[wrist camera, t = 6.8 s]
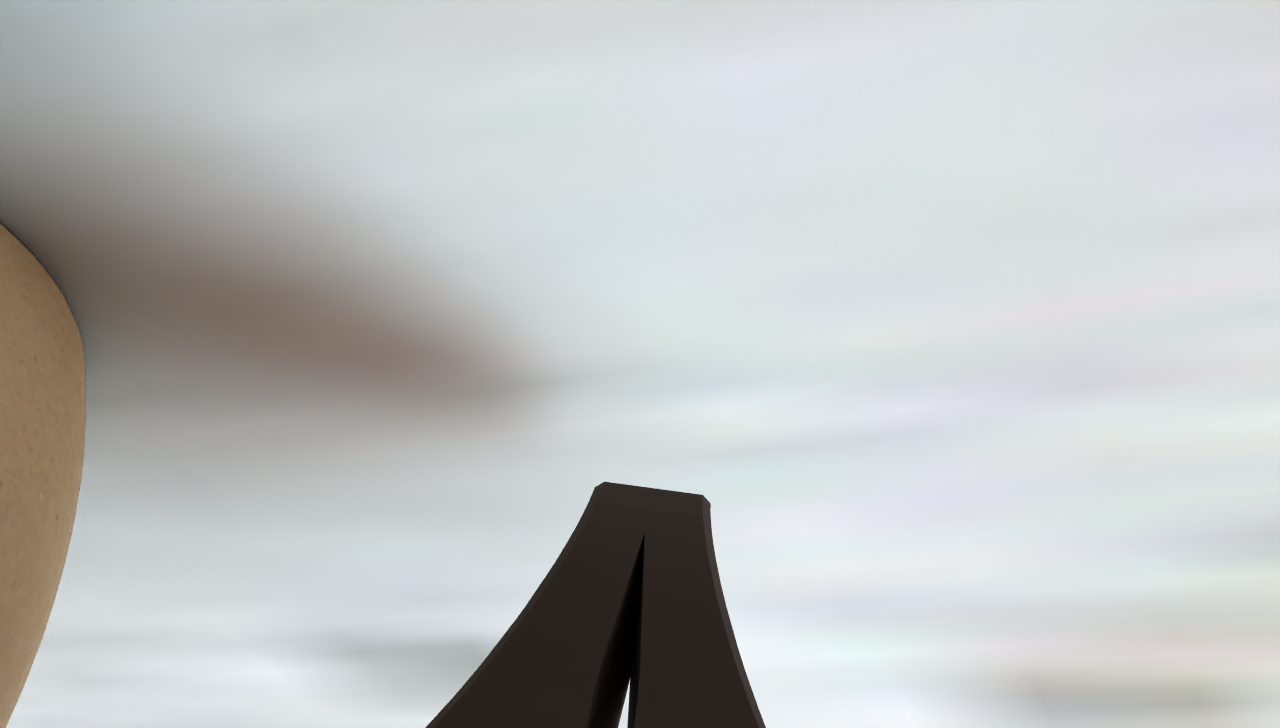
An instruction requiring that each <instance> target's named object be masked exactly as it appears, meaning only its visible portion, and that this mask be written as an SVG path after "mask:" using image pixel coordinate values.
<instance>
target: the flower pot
mask: <svg viewBox="0 0 1280 728" xmlns="http://www.w3.org/2000/svg"><path fill="white" fill-rule="evenodd" d="M85 421H86V385H85V359H84V350H83V344H82V339H81V335H80V332H79V329H78V326H77V324H76V322H75V320H74V317H73V315H72V313H71V311H70V308H69V306H68V304H67V302H66V300H65V298H64V296H63V294H62V293H61V291H60V290H59V288H58V287H57V285H56V284H55V283H54V281H53V280H52V278H51V277H50V275H49V274H48V273H47V272H46V270H45V269H44V268H43V267H42V265H41V264H40V263H39V262H38V261H37V259H36V258H35V257H34V256H33V255H32V254H31V252H30V251H29V250H28V249H27V248H26V247H25V246H24V245H23V244H22V243H21V242H20V241H19V240H18V239H17V238H16V237H14V236H13V235H12V234H11V233H10V232H9V231H8V230H7V229H6V228H5V227H3V226H2V225H1V224H0V728H6V726H7V723H8V721H9V719H10V717H11V714H12V712H13V710H14V708H15V705H16V703H17V701H18V699H19V696H20V694H21V692H22V690H23V687H24V685H25V682H26V679H27V677H28V674H29V672H30V669H31V666H32V664H33V661H34V658H35V656H36V653H37V651H38V648H39V645H40V643H41V640H42V638H43V634H44V631H45V628H46V625H47V622H48V619H49V616H50V613H51V610H52V607H53V603H54V600H55V597H56V593H57V590H58V586H59V583H60V579H61V575H62V572H63V568H64V564H65V560H66V556H67V551H68V547H69V543H70V539H71V534H72V529H73V524H74V519H75V514H76V508H77V502H78V495H79V489H80V483H81V476H82V465H83V455H84V441H85Z"/></svg>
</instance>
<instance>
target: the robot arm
mask: <svg viewBox="0 0 1280 728" xmlns="http://www.w3.org/2000/svg"><path fill="white" fill-rule="evenodd" d="M629 681H630V693H629V711H628V728H766V727H765V724H764V722H763V719H762V717H761V714H760V711H759V709H758V706H757V703H756V700H755V697H754V695H753V692H752V689H751V686H750V683H749V680H748V678H747V675H746V672H745V669H744V666H743V662H742V659H741V656H740V653H739V650H738V647H737V643H736V639H735V636H734V632H733V629H732V625H731V622H730V618H729V615H728V611H727V608H726V604H725V600H724V596H723V591H722V587H721V583H720V578H719V573H718V568H717V563H716V558H715V552H714V546H713V538H712V530H711V516H710V502H709V501H708V500H707V499H706V498H705V497H704V496H703V495H698V494H691V493H684V492H676V491H669V490H662V489H654V488H647V487H639V486H632V485H625V484H617V483H610V482H603V483H602V484H600V485H598V486H596V487H595V488H594V491H593V493H592V496H591V498H590V501H589V503H588V505H587V507H586V509H585V511H584V513H583V515H582V517H581V519H580V521H579V523H578V525H577V526H576V528H575V530H574V532H573V533H572V535H571V537H570V539H569V540H568V542H567V544H566V545H565V547H564V549H563V550H562V552H561V554H560V555H559V557H558V559H557V560H556V562H555V563H554V565H553V566H552V568H551V569H550V571H549V572H548V574H547V575H546V577H545V578H544V580H543V581H542V583H541V584H540V586H539V587H538V589H537V590H536V592H535V593H534V595H533V596H532V598H531V599H530V601H529V602H528V604H527V605H526V606H525V608H524V609H523V611H522V612H521V613H520V615H519V616H518V617H517V619H516V620H515V621H514V623H513V624H512V625H511V627H510V628H509V629H508V630H507V632H506V633H505V634H504V636H503V637H502V638H501V640H500V641H499V642H498V643H497V645H496V646H495V647H494V649H493V650H492V651H491V652H490V654H489V655H488V656H487V658H486V659H485V660H484V662H483V663H482V664H481V665H480V666H479V668H478V669H477V670H476V671H475V672H474V674H473V675H472V676H471V677H470V678H469V680H468V681H467V682H466V683H465V684H464V685H463V687H462V688H461V689H460V690H459V691H458V692H457V694H456V695H455V696H454V697H453V698H452V699H451V700H450V701H449V703H448V704H447V705H446V706H445V707H444V708H443V709H442V710H441V711H440V712H439V714H438V715H437V716H436V717H435V718H434V719H433V720H432V721H431V722H430V723H429V724H428V726H427V727H426V728H618V725H619V721H620V717H621V713H622V709H623V705H624V701H625V697H626V693H627V689H628V685H629Z"/></svg>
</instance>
